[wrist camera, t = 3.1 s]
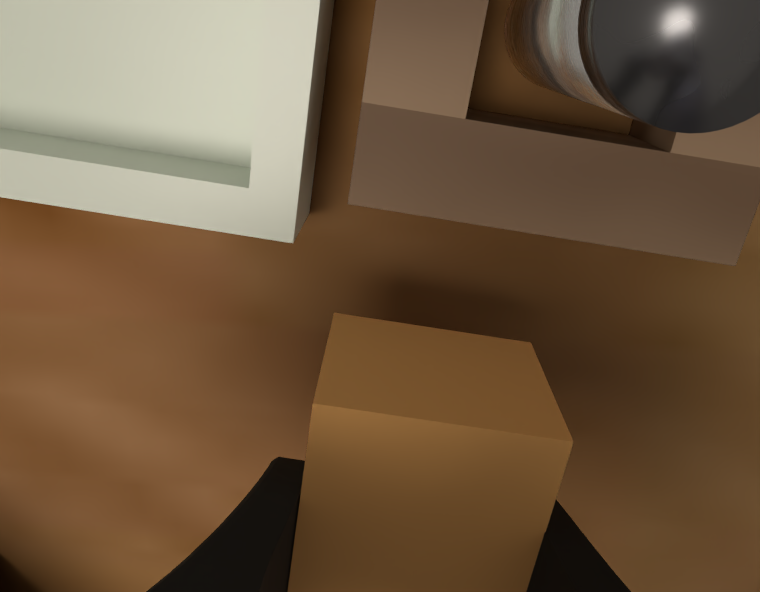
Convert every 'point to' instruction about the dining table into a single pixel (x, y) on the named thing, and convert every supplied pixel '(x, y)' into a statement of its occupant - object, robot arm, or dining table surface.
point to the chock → (426, 462)
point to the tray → (165, 109)
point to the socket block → (536, 153)
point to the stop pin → (644, 57)
